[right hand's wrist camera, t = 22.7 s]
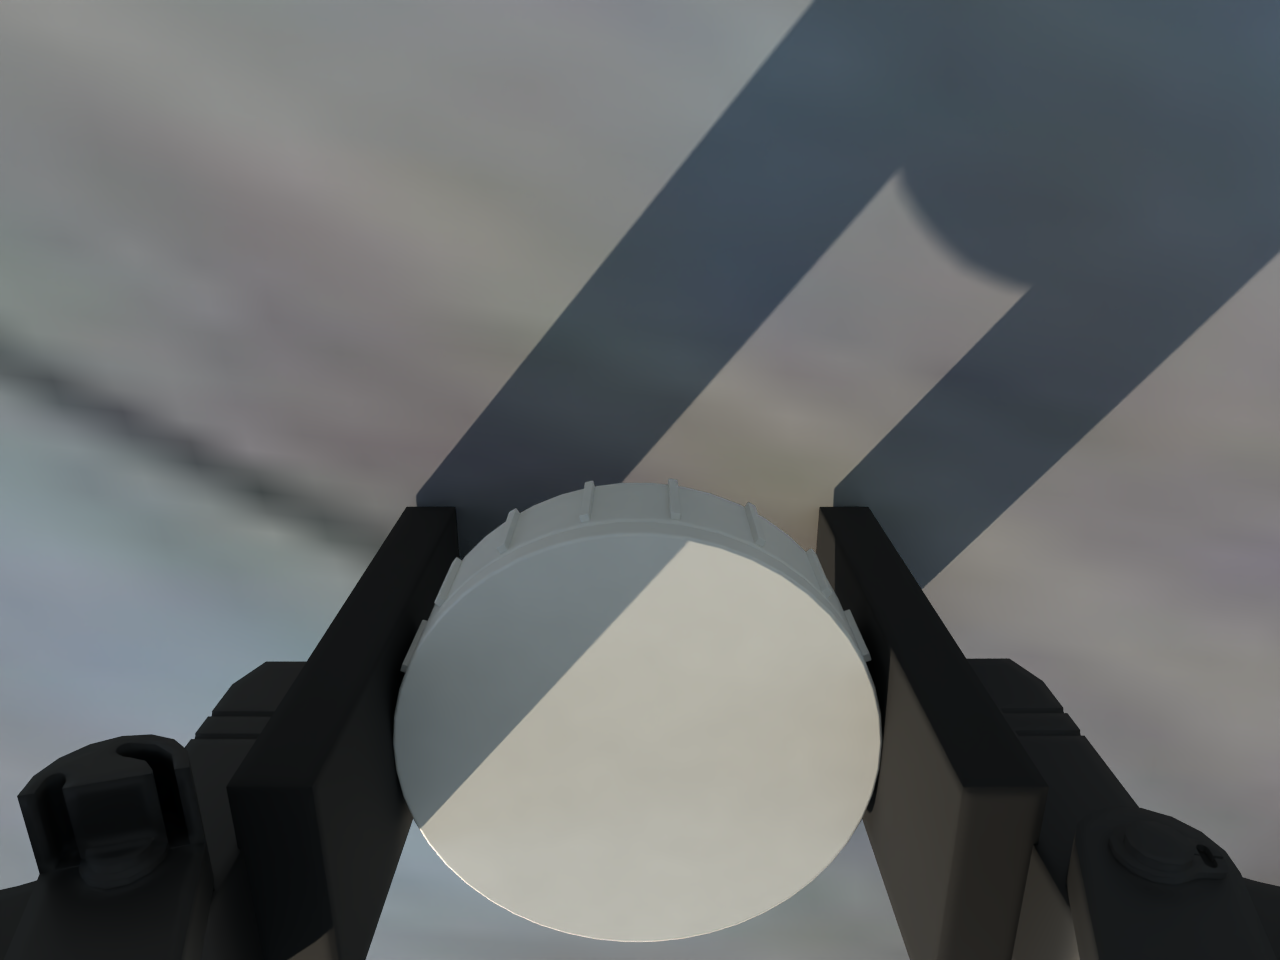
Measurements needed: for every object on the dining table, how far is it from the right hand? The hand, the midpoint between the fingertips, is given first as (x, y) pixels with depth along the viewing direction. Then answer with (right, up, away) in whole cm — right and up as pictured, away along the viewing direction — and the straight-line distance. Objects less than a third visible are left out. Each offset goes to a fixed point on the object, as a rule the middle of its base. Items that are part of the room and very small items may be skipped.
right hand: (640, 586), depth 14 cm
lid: (0, -1, -4) cm, 4 cm away
